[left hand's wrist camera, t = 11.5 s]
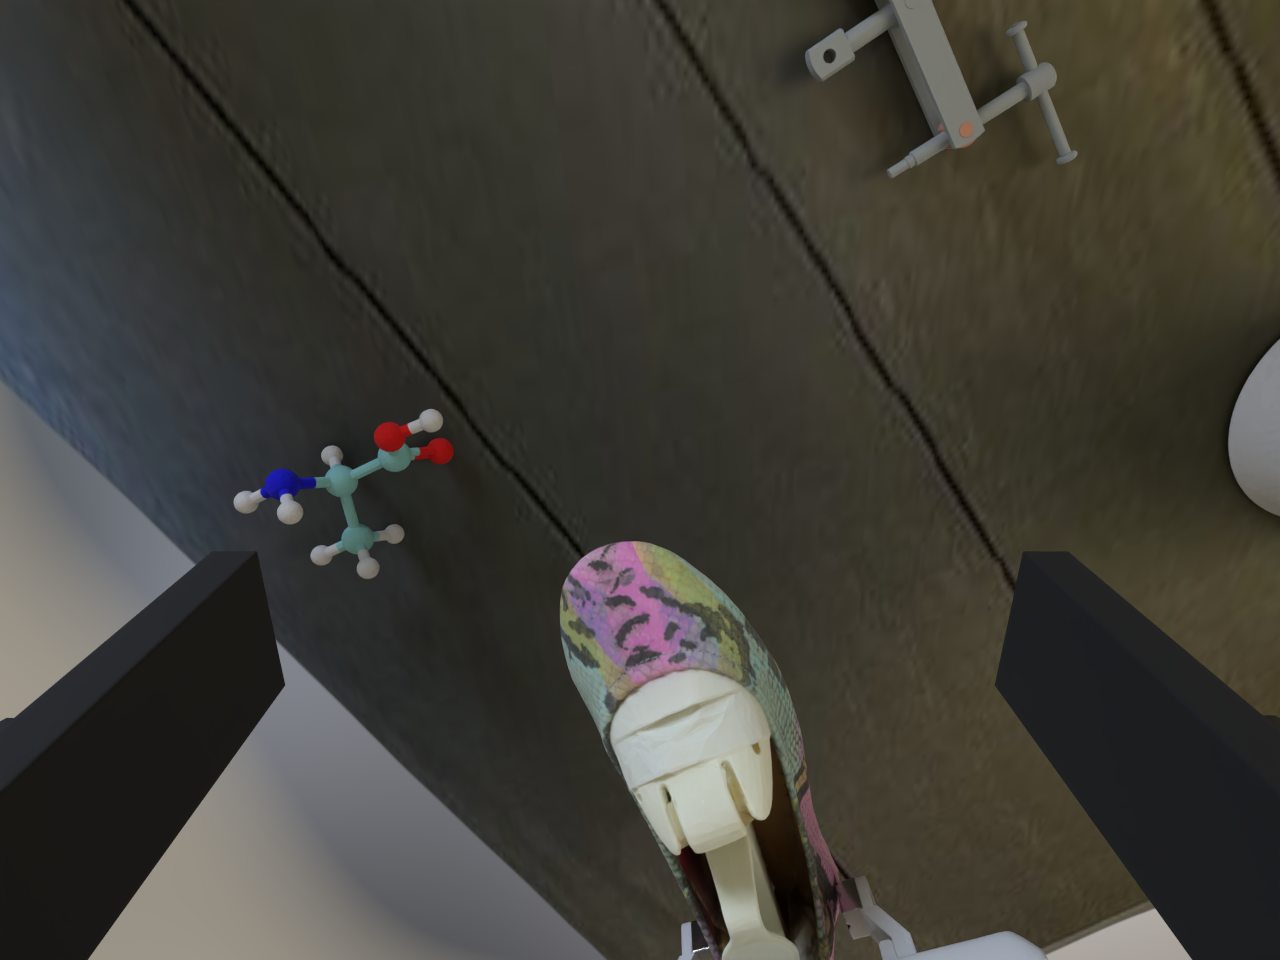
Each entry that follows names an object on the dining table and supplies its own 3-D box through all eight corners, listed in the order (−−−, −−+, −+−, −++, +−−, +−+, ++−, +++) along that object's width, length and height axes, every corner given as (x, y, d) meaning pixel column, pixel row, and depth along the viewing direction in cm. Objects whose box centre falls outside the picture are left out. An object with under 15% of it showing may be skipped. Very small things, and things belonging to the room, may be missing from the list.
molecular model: (452, 608, 45) (321, 625, 36) (344, 553, 49) (201, 556, 40) (509, 429, 44) (391, 400, 35) (395, 387, 48) (261, 352, 39)
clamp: (774, -23, 34) (975, -166, 32) (766, -11, 36) (955, -144, 34) (909, 262, 39) (1092, 153, 37) (896, 259, 41) (1068, 154, 39)
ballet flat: (716, 491, 30) (737, 602, 22) (868, 890, 39) (923, 1075, 31) (531, 555, 32) (488, 681, 24) (716, 927, 40) (731, 1114, 32)
